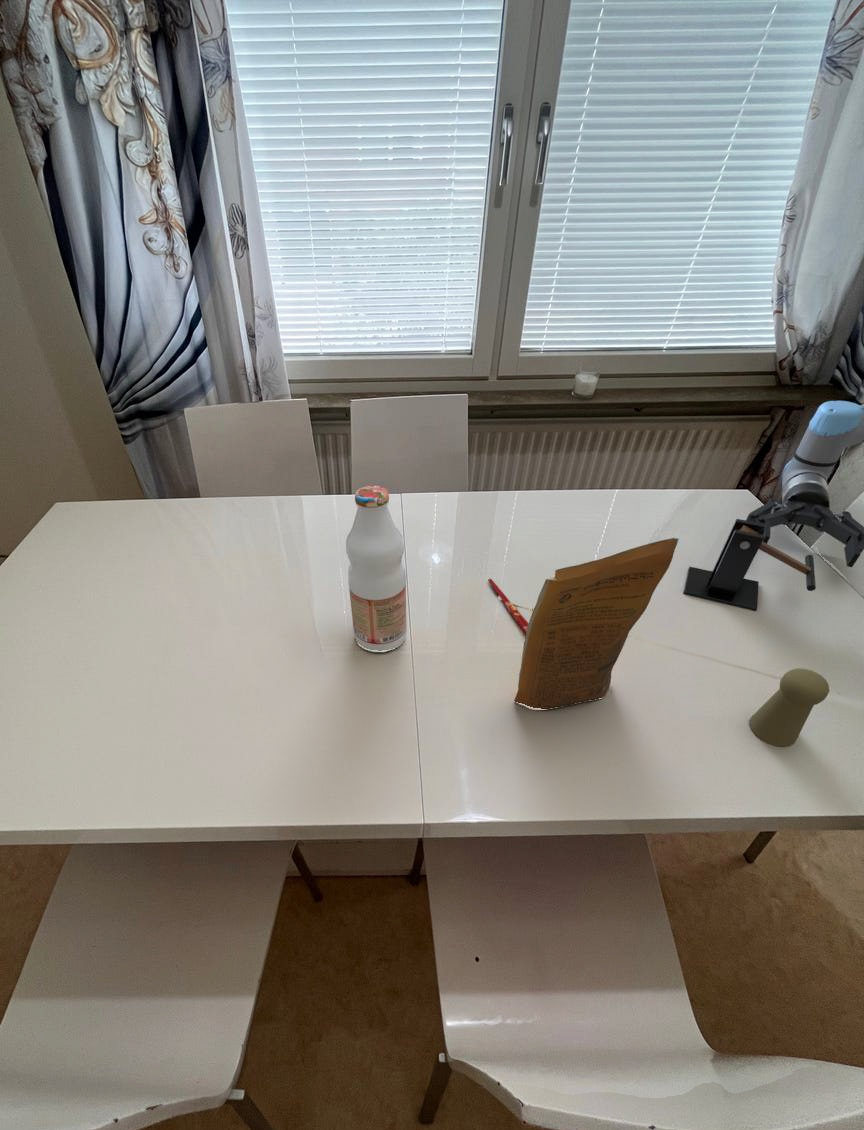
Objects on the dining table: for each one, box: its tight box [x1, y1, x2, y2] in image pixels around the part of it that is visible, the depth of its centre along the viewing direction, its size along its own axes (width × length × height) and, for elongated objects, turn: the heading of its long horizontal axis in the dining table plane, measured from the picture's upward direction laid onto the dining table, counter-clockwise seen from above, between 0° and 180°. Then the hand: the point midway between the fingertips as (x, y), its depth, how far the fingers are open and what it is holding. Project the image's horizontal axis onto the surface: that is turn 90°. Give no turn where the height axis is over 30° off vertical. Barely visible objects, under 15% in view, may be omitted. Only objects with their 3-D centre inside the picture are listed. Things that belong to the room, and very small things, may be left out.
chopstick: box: [487, 578, 529, 635], centre depth 97 cm, size 2×24×1 cm, turn 17°
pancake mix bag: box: [513, 537, 680, 709], centre depth 74 cm, size 7×19×28 cm, turn 102°
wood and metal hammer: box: [739, 525, 817, 592], centre depth 92 cm, size 14×10×2 cm
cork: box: [748, 667, 830, 748], centre depth 73 cm, size 6×6×11 cm
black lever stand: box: [683, 518, 765, 612], centre depth 96 cm, size 12×9×14 cm
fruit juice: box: [345, 485, 408, 651], centre depth 86 cm, size 9×9×28 cm
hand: (807, 551), depth 96 cm, fingers open, 13 cm apart
